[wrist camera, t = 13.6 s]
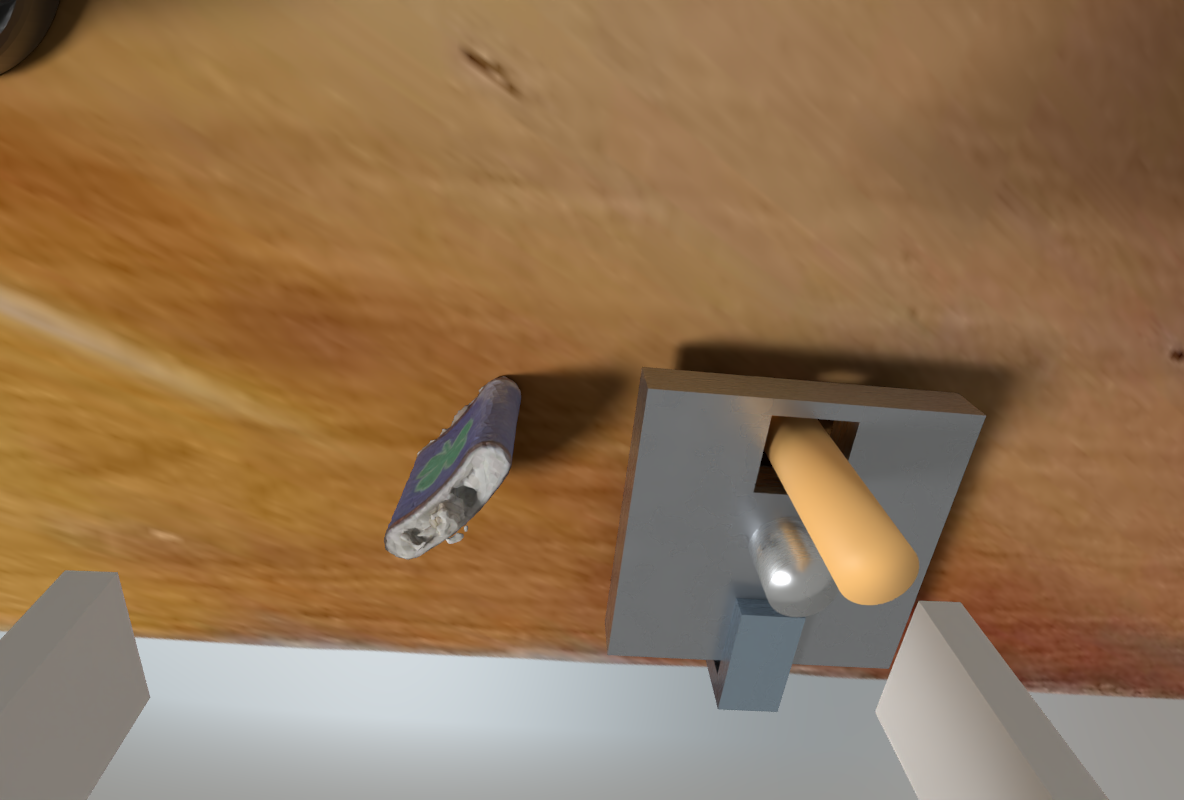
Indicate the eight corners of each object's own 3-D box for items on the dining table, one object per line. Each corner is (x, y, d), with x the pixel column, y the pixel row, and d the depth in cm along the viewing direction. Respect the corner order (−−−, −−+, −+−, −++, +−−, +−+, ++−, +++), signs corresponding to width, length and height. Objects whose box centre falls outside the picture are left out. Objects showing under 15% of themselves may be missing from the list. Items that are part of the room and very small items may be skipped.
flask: (500, 366, 43) (482, 454, 33) (535, 396, 44) (528, 490, 34) (406, 461, 45) (363, 568, 36) (441, 487, 46) (409, 598, 37)
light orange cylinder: (753, 383, 44) (848, 536, 29) (809, 387, 44) (929, 541, 30) (742, 433, 45) (827, 603, 31) (796, 437, 46) (905, 607, 31)
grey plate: (637, 348, 42) (657, 422, 33) (933, 373, 44) (1030, 451, 35) (598, 621, 52) (606, 737, 43) (845, 634, 53) (903, 749, 44)
